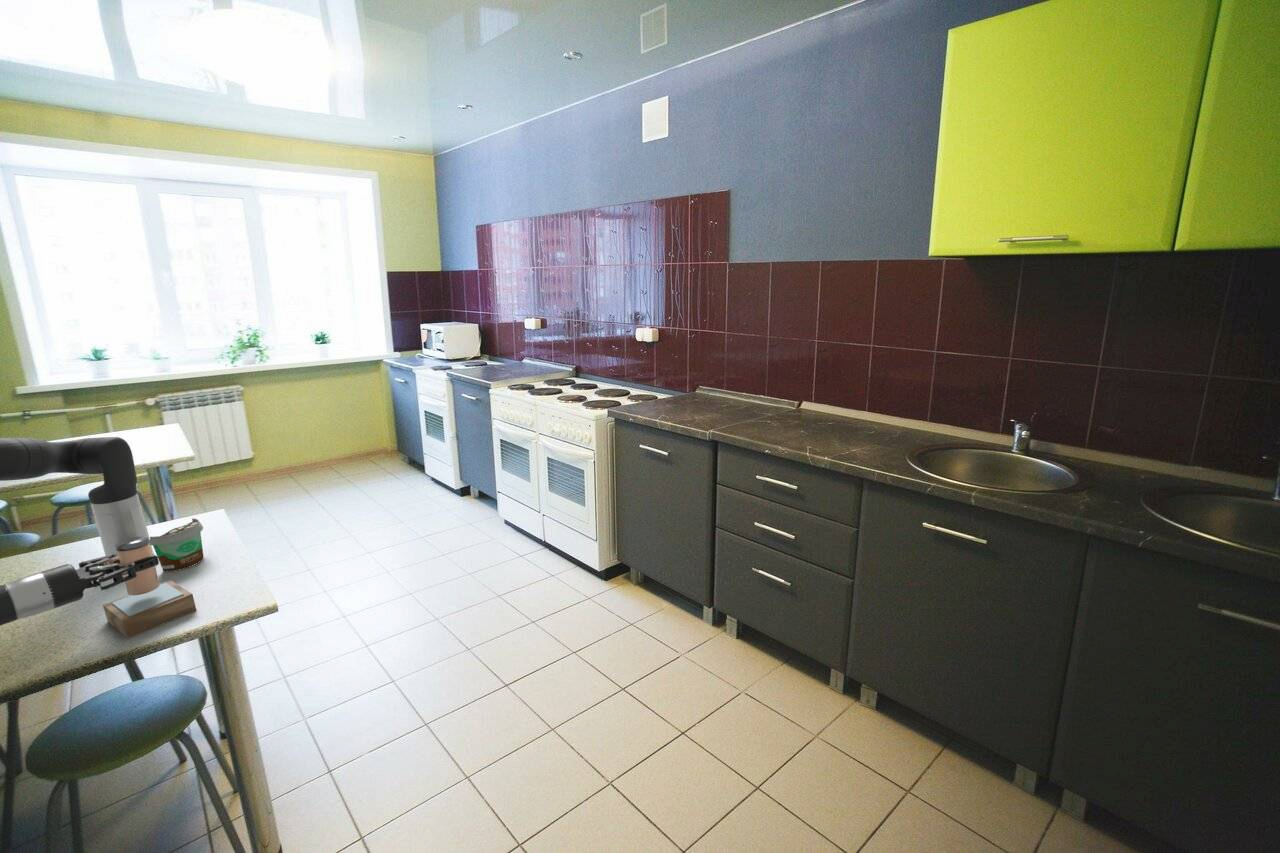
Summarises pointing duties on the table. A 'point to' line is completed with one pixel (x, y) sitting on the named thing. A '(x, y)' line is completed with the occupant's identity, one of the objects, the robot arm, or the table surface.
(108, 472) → the robot arm
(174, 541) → the food container
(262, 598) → the table surface
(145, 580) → the terracotta canister
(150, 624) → the walnut riser
